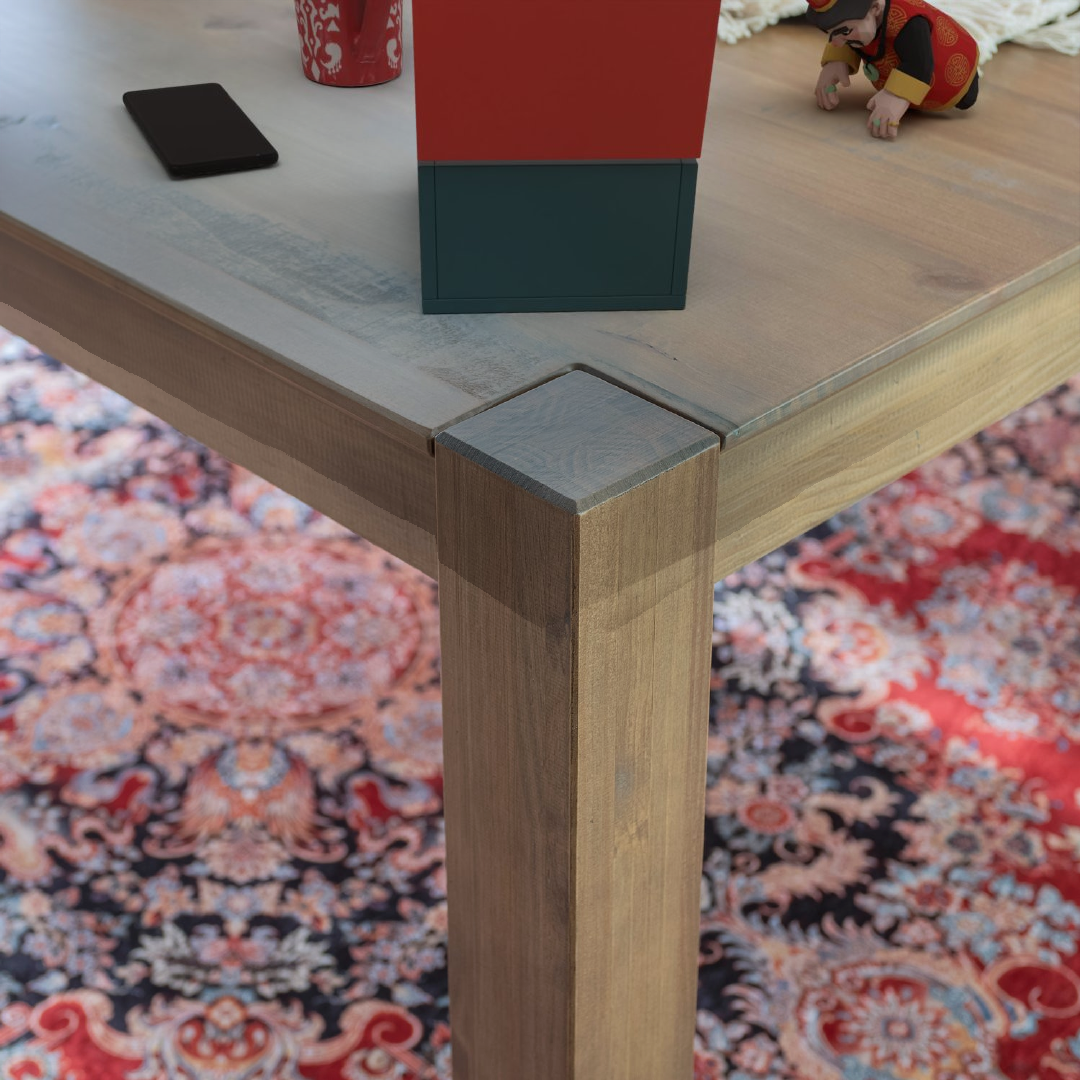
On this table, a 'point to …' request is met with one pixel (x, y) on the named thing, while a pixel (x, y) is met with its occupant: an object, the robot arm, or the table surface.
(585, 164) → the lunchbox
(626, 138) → the lid
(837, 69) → the figurine
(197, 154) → the smartphone
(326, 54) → the mug
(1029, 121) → the table surface
